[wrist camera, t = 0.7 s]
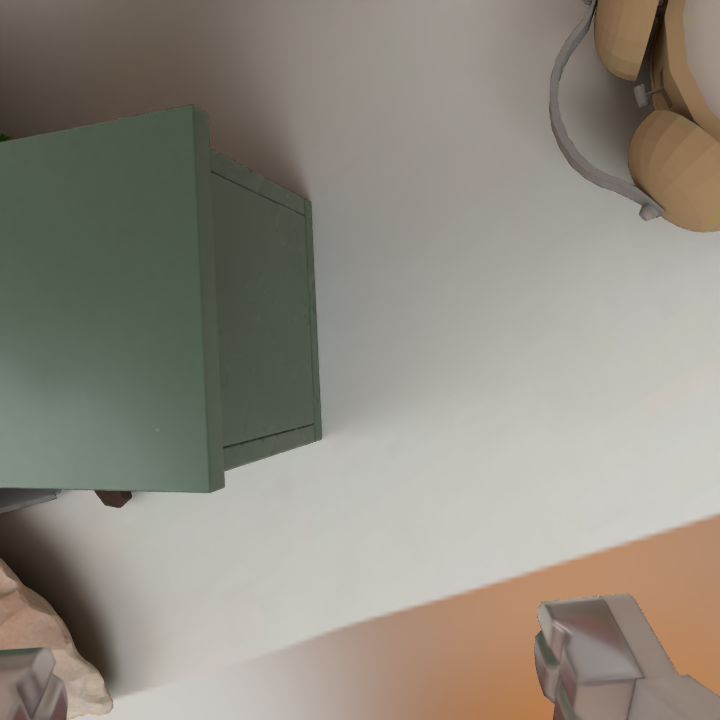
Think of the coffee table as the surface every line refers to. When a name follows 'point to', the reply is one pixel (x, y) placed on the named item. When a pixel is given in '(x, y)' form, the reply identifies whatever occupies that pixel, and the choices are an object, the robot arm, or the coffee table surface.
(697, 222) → the alarm clock
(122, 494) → the knife
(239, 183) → the bin
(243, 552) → the coffee table surface
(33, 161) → the bin lid
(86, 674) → the stone tool
